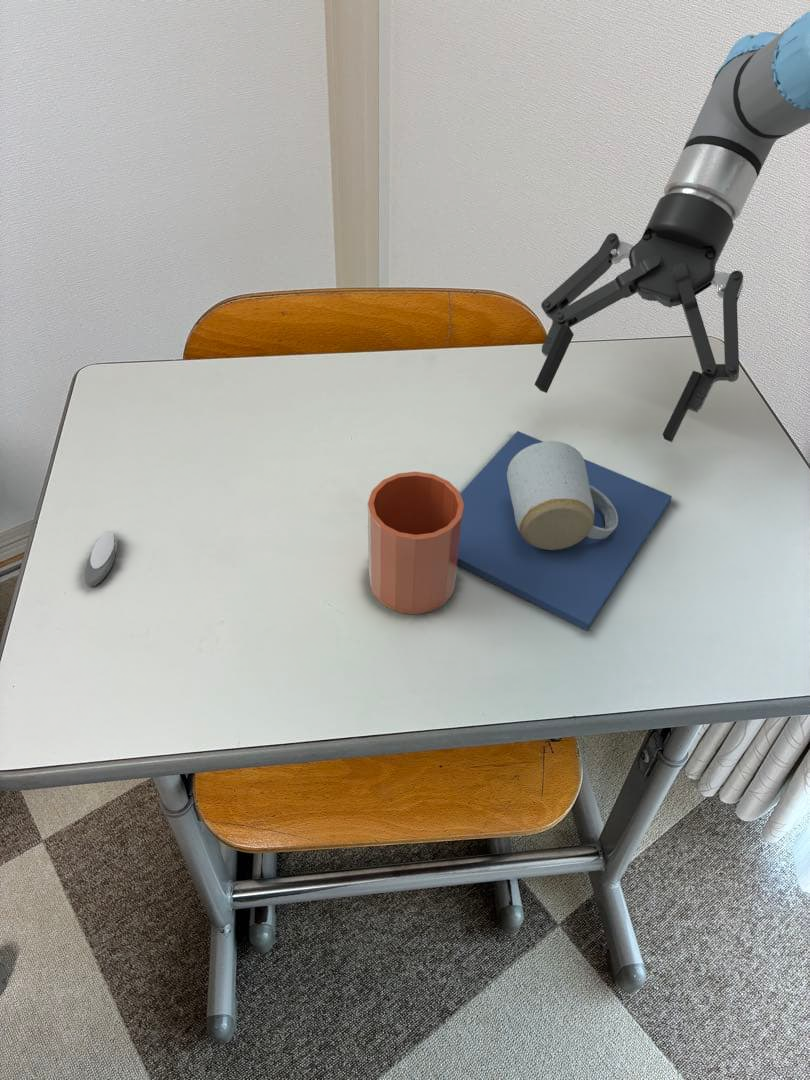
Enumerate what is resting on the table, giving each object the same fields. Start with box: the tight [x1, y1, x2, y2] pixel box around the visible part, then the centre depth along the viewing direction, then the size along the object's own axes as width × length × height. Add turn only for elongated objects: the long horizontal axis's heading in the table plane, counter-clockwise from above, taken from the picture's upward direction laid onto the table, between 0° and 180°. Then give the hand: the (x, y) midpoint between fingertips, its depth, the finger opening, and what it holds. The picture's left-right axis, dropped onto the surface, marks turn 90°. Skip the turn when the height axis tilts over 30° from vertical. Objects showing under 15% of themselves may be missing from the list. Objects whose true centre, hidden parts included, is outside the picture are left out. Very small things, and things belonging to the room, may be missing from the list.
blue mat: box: [458, 430, 673, 631], centre depth 79 cm, size 18×20×1 cm
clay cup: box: [367, 471, 464, 615], centre depth 71 cm, size 8×8×10 cm
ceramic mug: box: [507, 440, 618, 550], centre depth 76 cm, size 11×8×8 cm
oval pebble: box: [84, 530, 118, 587], centre depth 75 cm, size 6×2×1 cm, turn 174°
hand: (601, 413), depth 79 cm, fingers open, 13 cm apart
